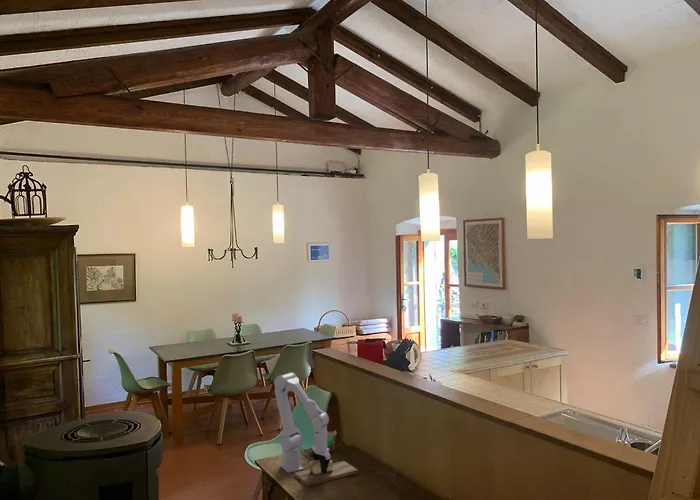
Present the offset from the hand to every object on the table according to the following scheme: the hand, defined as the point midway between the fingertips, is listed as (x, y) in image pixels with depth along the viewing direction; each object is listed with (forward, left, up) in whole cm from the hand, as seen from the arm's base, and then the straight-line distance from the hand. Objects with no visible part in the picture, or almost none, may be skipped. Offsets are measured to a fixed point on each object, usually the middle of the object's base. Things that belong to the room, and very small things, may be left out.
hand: (321, 470), depth 246 cm
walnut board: (0, +2, -2) cm, 3 cm away
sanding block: (0, 0, -1) cm, 1 cm away
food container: (-27, +15, -3) cm, 31 cm away
